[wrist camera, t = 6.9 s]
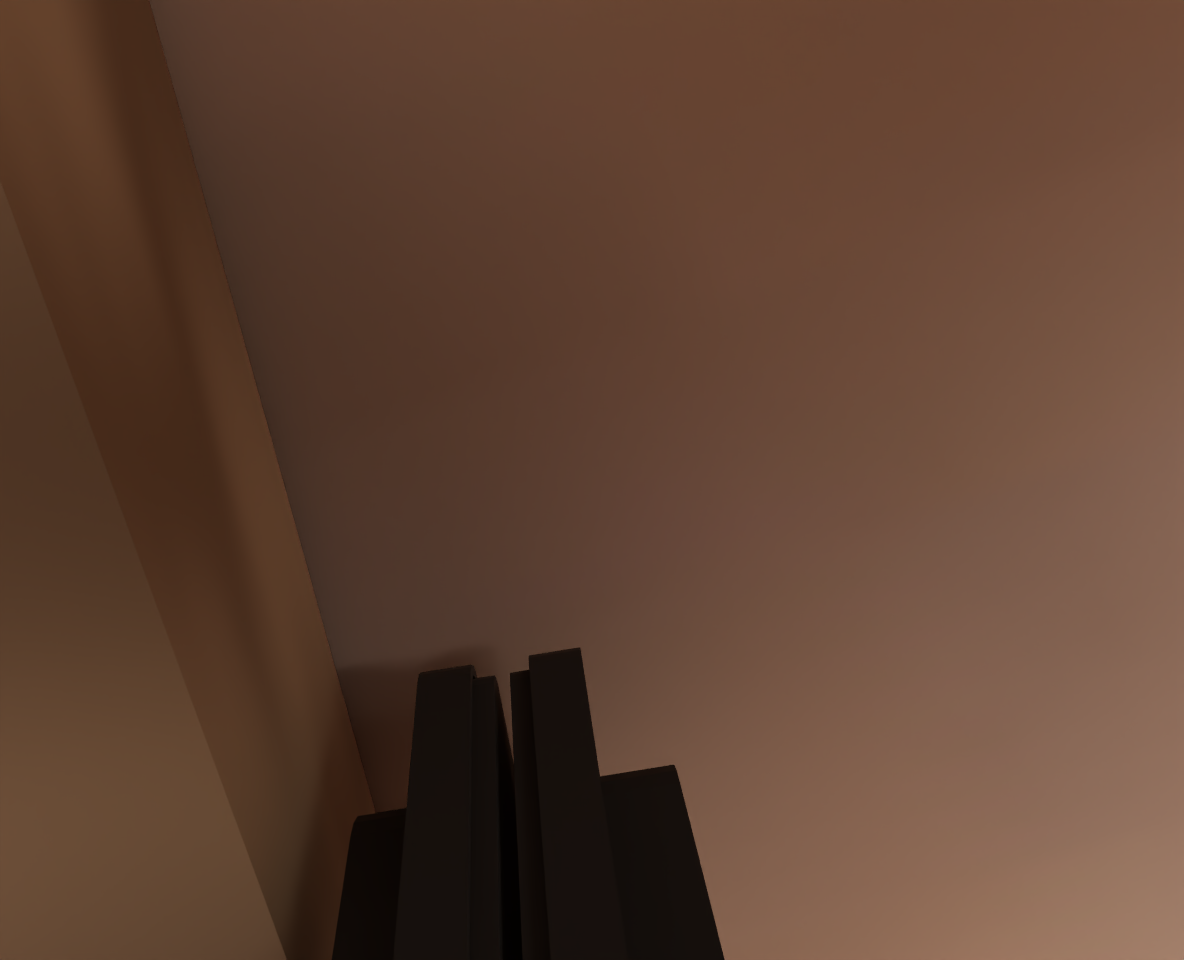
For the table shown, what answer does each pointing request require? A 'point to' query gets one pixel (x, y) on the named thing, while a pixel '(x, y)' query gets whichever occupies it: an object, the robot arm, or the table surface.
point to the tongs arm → (145, 545)
